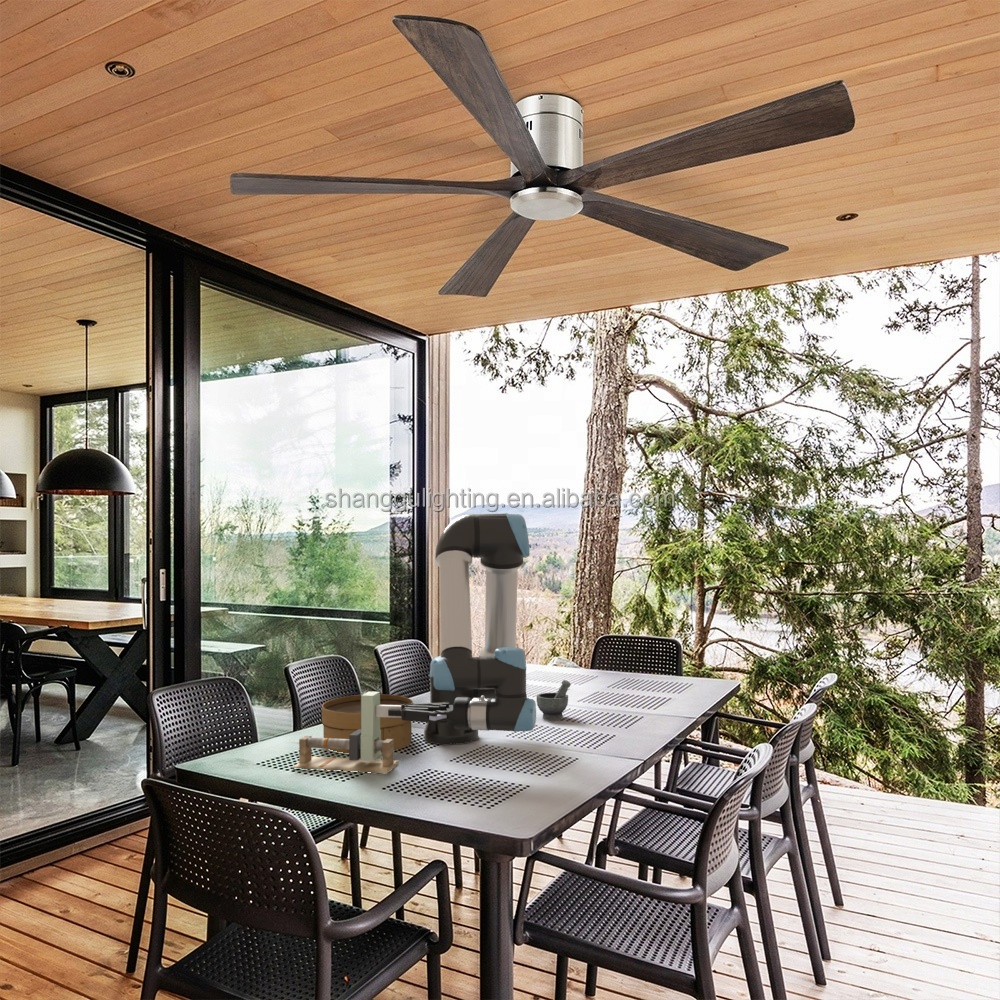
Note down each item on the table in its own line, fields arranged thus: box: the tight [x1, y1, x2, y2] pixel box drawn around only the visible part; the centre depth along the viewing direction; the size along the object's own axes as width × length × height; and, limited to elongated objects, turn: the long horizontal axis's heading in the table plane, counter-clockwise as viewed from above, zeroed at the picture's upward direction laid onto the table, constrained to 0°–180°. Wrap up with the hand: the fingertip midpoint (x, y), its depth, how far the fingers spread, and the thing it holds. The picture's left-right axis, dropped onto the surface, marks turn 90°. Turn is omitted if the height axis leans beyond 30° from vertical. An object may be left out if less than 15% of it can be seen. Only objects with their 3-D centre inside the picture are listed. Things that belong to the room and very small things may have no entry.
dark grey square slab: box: [348, 729, 361, 760], centre depth 196 cm, size 2×6×6 cm, turn 169°
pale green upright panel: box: [360, 691, 382, 761], centre depth 196 cm, size 3×6×16 cm, turn 169°
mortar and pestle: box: [536, 679, 572, 721], centre depth 247 cm, size 11×9×12 cm
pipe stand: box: [292, 735, 400, 775], centre depth 197 cm, size 24×9×7 cm, turn 79°
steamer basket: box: [321, 693, 414, 753], centre depth 220 cm, size 25×25×11 cm
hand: (377, 710), depth 195 cm, fingers closed
